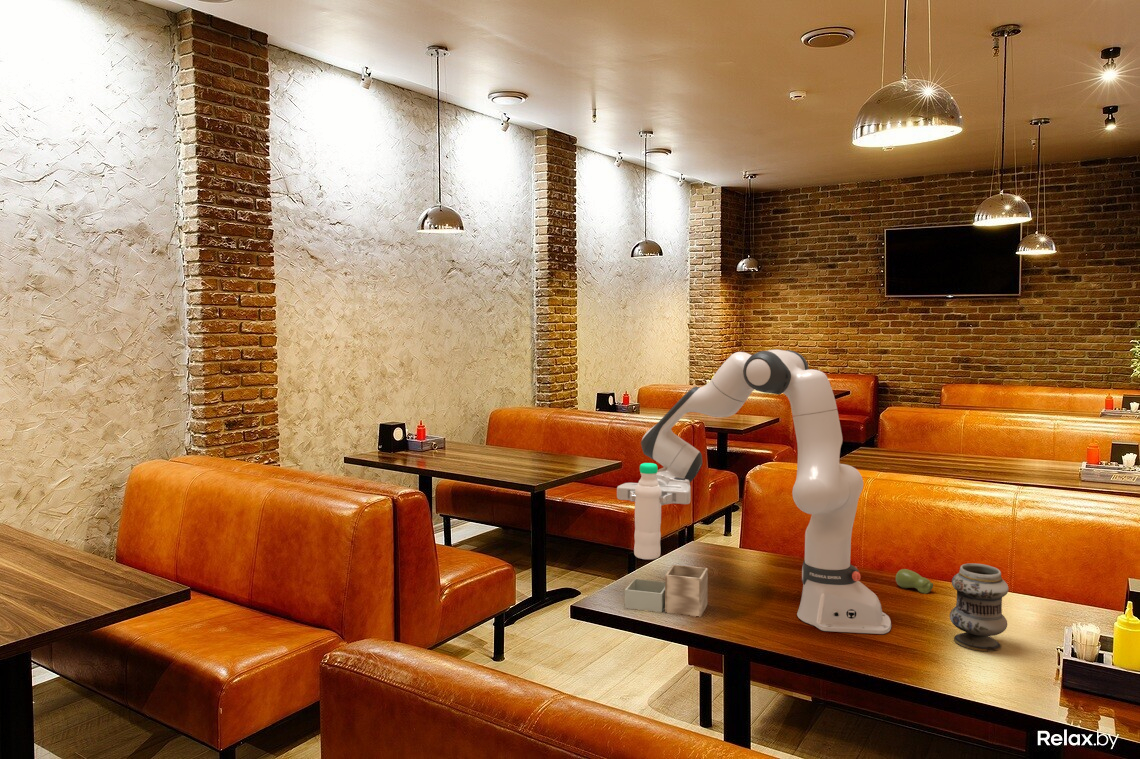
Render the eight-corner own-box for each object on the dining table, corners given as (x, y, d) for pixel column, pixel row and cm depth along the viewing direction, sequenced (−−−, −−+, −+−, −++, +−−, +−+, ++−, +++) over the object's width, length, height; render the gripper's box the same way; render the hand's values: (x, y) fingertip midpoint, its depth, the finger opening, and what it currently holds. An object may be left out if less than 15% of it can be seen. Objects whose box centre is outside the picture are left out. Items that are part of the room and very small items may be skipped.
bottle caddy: (670, 600, 216) (670, 582, 216) (661, 612, 207) (661, 593, 206) (634, 596, 219) (634, 578, 219) (624, 608, 210) (624, 589, 210)
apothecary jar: (976, 656, 179) (978, 578, 178) (937, 636, 190) (939, 563, 189) (1018, 650, 182) (1021, 573, 181) (978, 630, 194) (980, 558, 193)
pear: (902, 564, 229) (937, 577, 222) (898, 581, 230) (933, 595, 223) (894, 568, 225) (930, 582, 218) (890, 586, 226) (926, 600, 219)
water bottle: (660, 552, 215) (661, 461, 213) (660, 560, 208) (662, 466, 206) (634, 551, 216) (635, 461, 214) (633, 559, 209) (635, 466, 207)
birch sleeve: (707, 604, 212) (707, 568, 212) (700, 617, 203) (701, 578, 203) (672, 600, 215) (672, 564, 215) (665, 612, 207) (665, 575, 206)
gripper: (623, 475, 226) (609, 485, 213) (695, 480, 220) (685, 490, 207) (623, 497, 227) (609, 508, 214) (694, 502, 220) (685, 513, 207)
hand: (647, 499), depth 210 cm, fingers closed on water bottle, 6 cm apart
